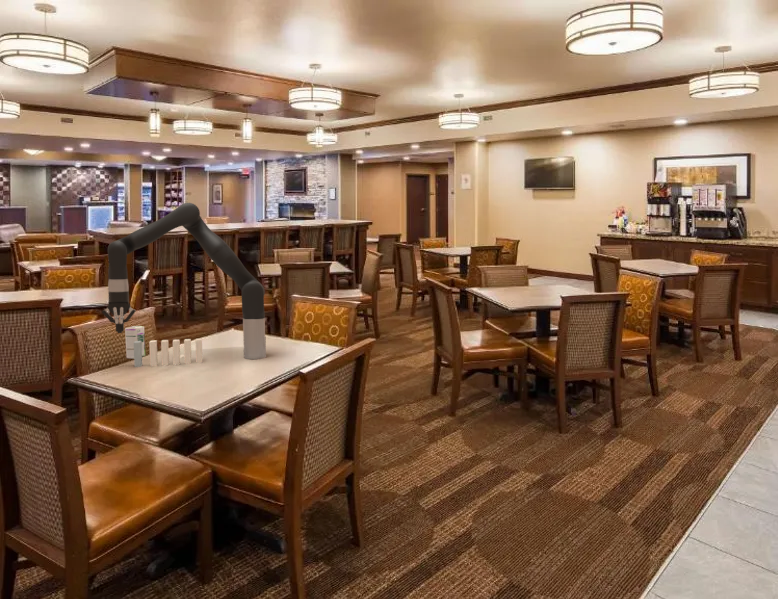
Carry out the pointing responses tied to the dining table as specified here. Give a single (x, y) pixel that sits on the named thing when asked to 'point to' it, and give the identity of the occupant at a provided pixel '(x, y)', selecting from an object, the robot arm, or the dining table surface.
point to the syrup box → (134, 339)
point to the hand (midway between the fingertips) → (119, 332)
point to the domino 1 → (138, 353)
